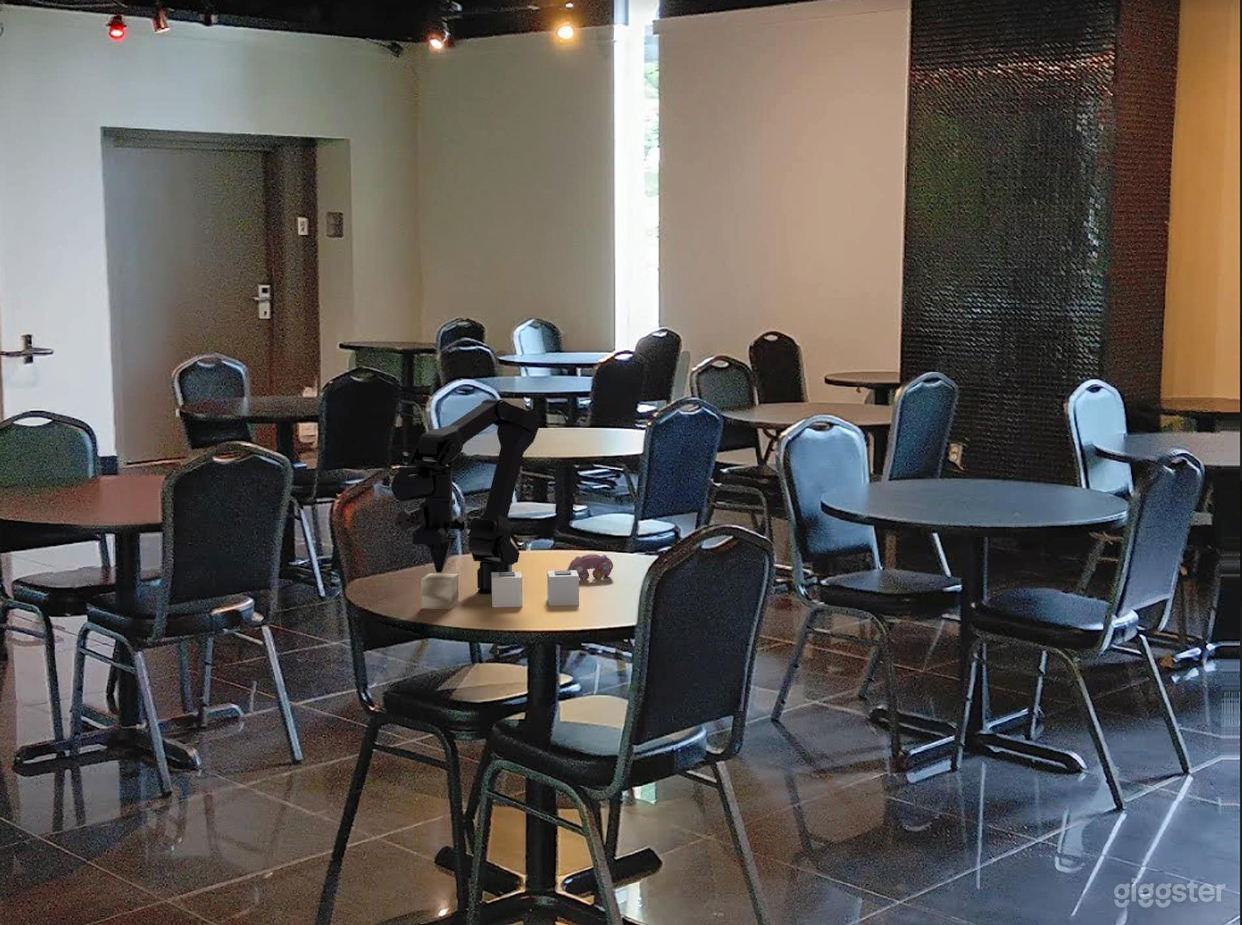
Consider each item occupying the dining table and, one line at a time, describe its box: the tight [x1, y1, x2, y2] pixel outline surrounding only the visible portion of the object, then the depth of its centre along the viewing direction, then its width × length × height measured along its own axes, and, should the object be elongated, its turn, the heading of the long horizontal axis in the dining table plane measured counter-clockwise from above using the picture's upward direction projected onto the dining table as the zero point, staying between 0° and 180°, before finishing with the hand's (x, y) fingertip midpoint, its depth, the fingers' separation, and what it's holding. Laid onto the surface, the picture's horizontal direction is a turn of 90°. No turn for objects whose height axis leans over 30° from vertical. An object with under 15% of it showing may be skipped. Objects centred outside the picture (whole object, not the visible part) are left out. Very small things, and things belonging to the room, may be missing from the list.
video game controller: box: [566, 553, 614, 581], centre depth 334 cm, size 10×5×7 cm, turn 107°
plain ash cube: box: [420, 572, 459, 610], centre depth 309 cm, size 6×6×6 cm
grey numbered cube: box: [546, 569, 580, 607], centre depth 312 cm, size 6×6×6 cm
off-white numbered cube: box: [491, 571, 524, 608], centre depth 311 cm, size 6×6×6 cm
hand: (439, 572), depth 309 cm, fingers closed
